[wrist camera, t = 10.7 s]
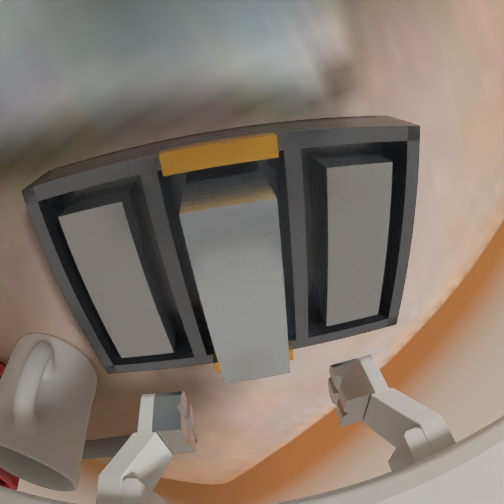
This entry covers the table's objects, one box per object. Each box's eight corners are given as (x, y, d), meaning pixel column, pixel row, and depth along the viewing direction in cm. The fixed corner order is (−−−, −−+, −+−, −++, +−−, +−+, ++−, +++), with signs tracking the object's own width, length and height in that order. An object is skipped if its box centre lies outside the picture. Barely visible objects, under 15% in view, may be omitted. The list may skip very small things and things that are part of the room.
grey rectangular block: (254, 159, 17) (276, 198, 12) (271, 305, 22) (290, 372, 17) (187, 170, 17) (179, 214, 12) (218, 314, 22) (224, 384, 17)
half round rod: (61, 439, 32) (58, 450, 31) (180, 419, 31) (180, 433, 29) (81, 453, 34) (80, 463, 33) (199, 435, 33) (200, 448, 31)
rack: (387, 114, 17) (428, 127, 13) (376, 296, 24) (400, 332, 20) (48, 169, 16) (13, 194, 12) (116, 340, 23) (106, 383, 19)
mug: (94, 403, 27) (78, 499, 18) (19, 375, 24) (-12, 464, 15) (110, 324, 22) (79, 455, 13) (13, 287, 20) (-51, 397, 10)
